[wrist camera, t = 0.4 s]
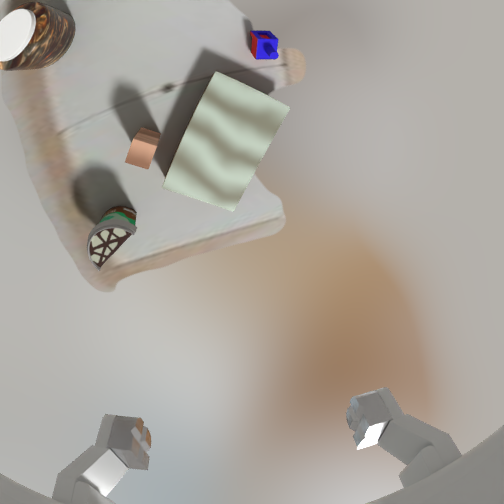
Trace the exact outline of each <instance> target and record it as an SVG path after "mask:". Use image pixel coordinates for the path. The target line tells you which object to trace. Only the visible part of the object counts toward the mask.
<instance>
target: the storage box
mask: <svg viewBox="0 0 504 504" xmlns="http://www.w3.org/2000/svg"><path fill="white" fill-rule="evenodd" d="M289 109H290V107H288V106H286V105H284V104H283V103H281V102H279V101H277V100H275V99H273V98H271V97H269V96H268V95H266V94H264V93H262V92H260V91H258V90H256V89H254V88H252V87H250V86H248V85H245V84H243V83H241V82H239V81H237V80H235V79H233V78H230V77H228V76H226V75H224V74H221V73H219V72H217V71H215V73H214V74H213V75H212V77H211V79H210V81H209V83H208V85H207V87H206V88H205V90H204V92H203V94H202V96H201V98H200V100H199V102H198V104H197V106H196V108H195V110H194V113H193V115H192V117H191V119H190V121H189V123H188V125H187V127H186V130H185V132H184V134H183V136H182V138H181V141H180V143H179V145H178V148H177V150H176V152H175V155H174V157H173V159H172V162H171V164H170V167H169V169H168V172H167V174H166V177H165V181H164V184H163V186H162V188H163V189H166V190H169V191H173V192H176V193H179V194H182V195H185V196H188V197H191V198H194V199H197V200H200V201H203V202H206V203H209V204H212V205H215V206H218V207H221V208H224V209H227V210H230V211H233V212H234V210H235V208H236V206H237V204H238V202H239V201H240V199H241V197H242V195H243V193H244V191H245V189H246V187H247V185H248V184H249V182H250V180H251V178H252V176H253V174H254V172H255V170H256V168H257V167H258V165H259V163H260V161H261V159H262V157H263V156H264V154H265V152H266V150H267V148H268V146H269V145H270V143H271V141H272V139H273V138H274V136H275V134H276V132H277V130H278V129H279V127H280V125H281V123H282V122H283V120H284V118H285V116H286V114H287V113H288V111H289Z"/></svg>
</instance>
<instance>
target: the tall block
mask: <svg viewBox="0 0 504 504" xmlns="http://www.w3.org/2000/svg"><path fill="white" fill-rule="evenodd" d="M160 135H161V133H158V132H155V131H151V130H148V129H145V128H142V127H141V128H140V130H139V131H138V133H137V134H136V135H135V137H134V138H133V141H132V143H131V146H130V149H129V152H128V155H127V158H126V161H125V162H126V163H129V164H132V165H135V166H139V167H142V168H145V169H149V166H150V163H151V161H152V158H153V156H154V153H155V150H156V148H157V145H158V142H159V139H160Z"/></svg>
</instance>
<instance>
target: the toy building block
mask: <svg viewBox="0 0 504 504" xmlns="http://www.w3.org/2000/svg"><path fill="white" fill-rule="evenodd" d="M250 35H251V36H252V47H251V53H252V55H253V56H254V57H255V59H277V58H278V56H279V55H278V53H277V46H278V39H277V38H276V37H275V36H274V35H273V34H272V33H271V32H270V31H250Z"/></svg>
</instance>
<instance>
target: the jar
mask: <svg viewBox="0 0 504 504" xmlns="http://www.w3.org/2000/svg"><path fill="white" fill-rule="evenodd" d="M74 35H75V23H74V20H73V18H72V17H71V16H70V15H68V14H67V13H65V12H63V11H61V10H58V9H56V8H54V7H51V6H49V5H46V4H43V3H39V2H29V3H26V4H23V5H21V6H19V7H17V8H16V9H14V10H13V11H12V12H11V13H9V14H8V15H6V16H5V17H4V18H3V19H2V20H1V21H0V69H1V70H6V71H12V70H27V69H40V68H45V67H48V66H50V65H52V64H54V63H55V62H56V61H58V60H59V59H60V58H61V57H62V56H63V55H64V54H65V53H66V51H67V50H68V48H69V47H70V45H71V43H72V41H73V38H74Z"/></svg>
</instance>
